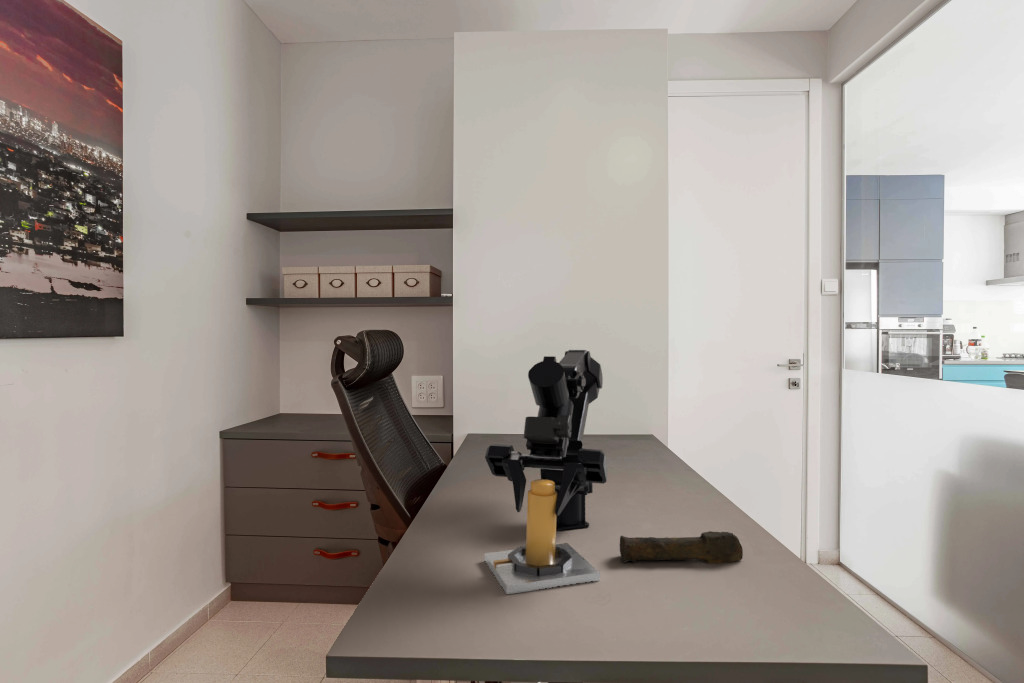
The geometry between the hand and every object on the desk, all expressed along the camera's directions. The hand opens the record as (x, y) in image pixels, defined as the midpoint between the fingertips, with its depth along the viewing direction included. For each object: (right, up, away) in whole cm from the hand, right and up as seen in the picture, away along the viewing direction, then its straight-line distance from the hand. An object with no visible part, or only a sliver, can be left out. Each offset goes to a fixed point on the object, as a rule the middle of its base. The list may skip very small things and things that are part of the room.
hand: (537, 512), depth 84 cm
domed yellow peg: (0, -8, +1) cm, 8 cm away
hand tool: (+23, -9, +6) cm, 25 cm away
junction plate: (0, -9, +1) cm, 9 cm away
